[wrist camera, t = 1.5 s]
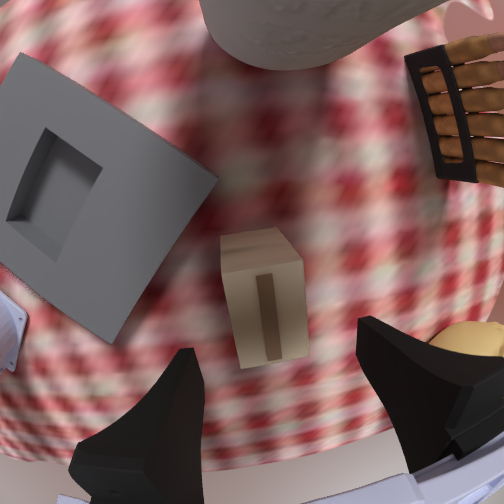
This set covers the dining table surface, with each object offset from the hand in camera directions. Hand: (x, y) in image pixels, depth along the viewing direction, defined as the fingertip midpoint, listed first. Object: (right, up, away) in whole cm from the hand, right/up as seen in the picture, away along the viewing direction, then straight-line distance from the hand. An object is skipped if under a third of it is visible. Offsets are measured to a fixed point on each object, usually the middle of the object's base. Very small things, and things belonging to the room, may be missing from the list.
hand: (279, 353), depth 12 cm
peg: (-1, +3, +10) cm, 10 cm away
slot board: (-15, +9, +6) cm, 18 cm away
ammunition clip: (+14, +16, +7) cm, 22 cm away
